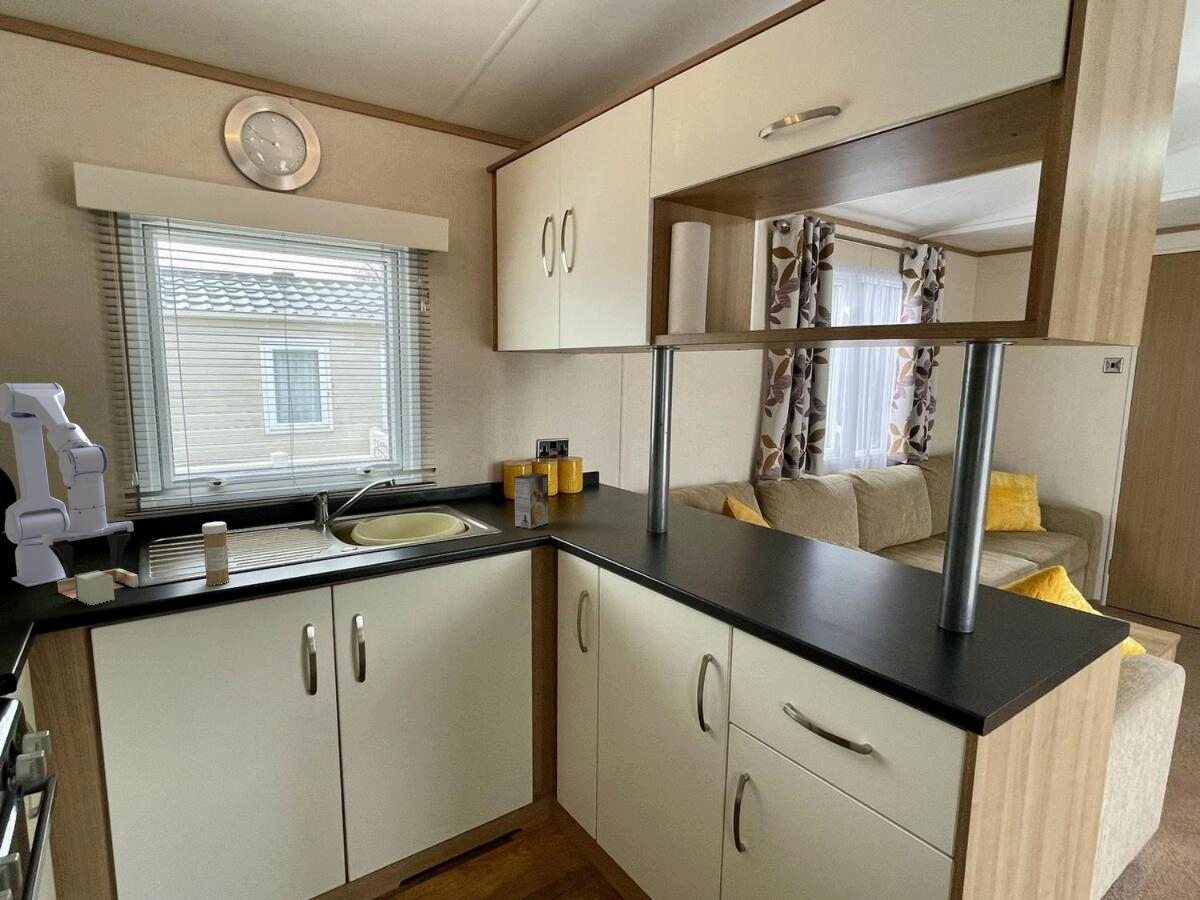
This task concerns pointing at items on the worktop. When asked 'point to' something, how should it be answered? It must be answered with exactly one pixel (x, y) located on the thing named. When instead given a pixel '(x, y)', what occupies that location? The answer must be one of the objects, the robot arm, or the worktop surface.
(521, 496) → the coffee box
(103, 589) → the sage block
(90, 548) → the worktop surface
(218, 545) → the sprinkles bottle
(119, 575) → the corner arena
